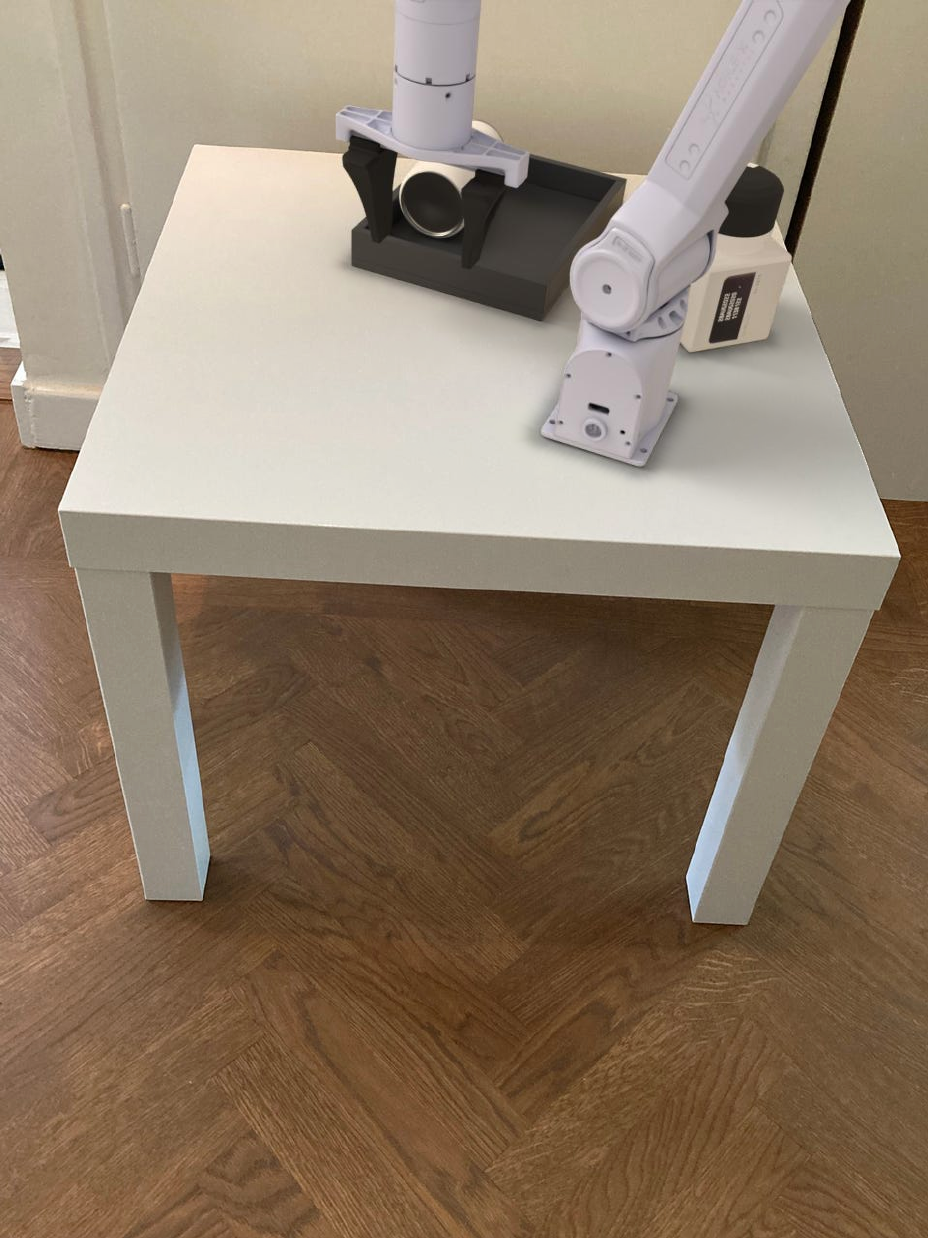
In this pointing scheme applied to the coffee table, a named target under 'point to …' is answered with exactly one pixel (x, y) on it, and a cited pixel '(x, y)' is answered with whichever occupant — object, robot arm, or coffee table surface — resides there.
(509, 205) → the tray
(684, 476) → the coffee table surface
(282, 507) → the coffee table surface
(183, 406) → the coffee table surface
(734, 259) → the container
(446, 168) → the can
